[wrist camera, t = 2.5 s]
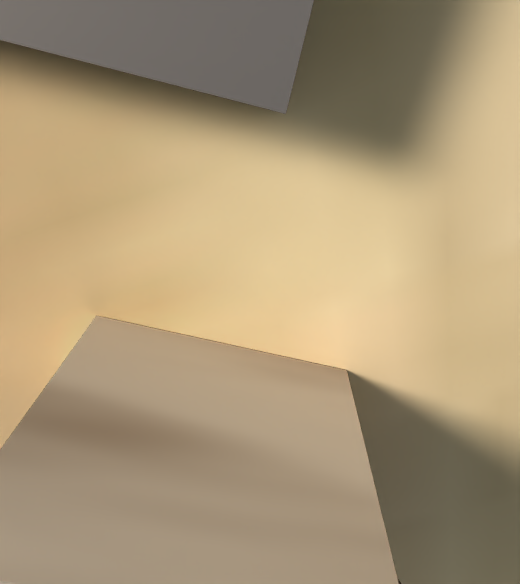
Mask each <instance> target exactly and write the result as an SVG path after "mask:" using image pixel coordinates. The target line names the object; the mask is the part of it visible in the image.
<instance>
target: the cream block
mask: <svg viewBox="0 0 520 584" xmlns="http://www.w3.org/2000/svg"><path fill="white" fill-rule="evenodd" d="M0 584H399V583H398V579H397V575H396V571H395V566H394V562H393V558H392V554H391V550H390V546H389V542H388V538H387V534H386V529H385V525H384V521H383V517H382V513H381V509H380V505H379V501H378V497H377V492H376V488H375V484H374V480H373V476H372V472H371V468H370V464H369V460H368V456H367V451H366V447H365V443H364V439H363V435H362V431H361V427H360V423H359V419H358V414H357V410H356V406H355V402H354V398H353V394H352V390H351V386H350V382H349V378H348V373H347V370H343V369H339V368H334V367H329V366H325V365H320V364H316V363H311V362H307V361H302V360H297V359H293V358H288V357H284V356H279V355H274V354H270V353H265V352H261V351H256V350H252V349H247V348H242V347H238V346H233V345H229V344H224V343H219V342H215V341H210V340H206V339H201V338H196V337H192V336H187V335H183V334H178V333H174V332H169V331H164V330H160V329H155V328H151V327H146V326H141V325H137V324H132V323H128V322H123V321H118V320H114V319H109V318H105V317H100V316H96V317H95V318H94V320H93V321H92V322H91V324H90V325H89V327H88V328H87V329H86V331H85V332H84V334H83V335H82V336H81V338H80V339H79V341H78V342H77V343H76V345H75V346H74V348H73V349H72V350H71V352H70V353H69V354H68V356H67V357H66V359H65V360H64V361H63V363H62V364H61V366H60V367H59V368H58V370H57V371H56V373H55V374H54V375H53V377H52V378H51V380H50V381H49V382H48V384H47V385H46V387H45V388H44V389H43V391H42V392H41V394H40V395H39V396H38V398H37V399H36V400H35V402H34V403H33V405H32V406H31V407H30V409H29V410H28V412H27V413H26V414H25V416H24V417H23V419H22V420H21V421H20V423H19V424H18V426H17V427H16V428H15V430H14V431H13V433H12V434H11V435H10V437H9V438H8V439H7V441H6V442H5V444H4V445H3V446H2V448H1V449H0Z"/></svg>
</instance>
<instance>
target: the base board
mask: <svg viewBox="0 0 520 584" xmlns="http://www.w3.org/2000/svg"><path fill="white" fill-rule="evenodd" d="M313 2H314V0H0V40H2V41H6V42H10V43H14V44H18V45H21V46H25V47H29V48H33V49H37V50H41V51H45V52H48V53H52V54H56V55H60V56H64V57H68V58H72V59H76V60H79V61H83V62H87V63H91V64H95V65H99V66H103V67H106V68H110V69H114V70H118V71H122V72H126V73H130V74H133V75H137V76H141V77H145V78H149V79H153V80H157V81H161V82H164V83H168V84H172V85H176V86H180V87H184V88H188V89H191V90H195V91H199V92H203V93H207V94H211V95H215V96H218V97H222V98H226V99H230V100H234V101H238V102H242V103H246V104H249V105H253V106H257V107H261V108H265V109H269V110H273V111H276V112H280V113H284V114H286V111H287V107H288V103H289V99H290V95H291V91H292V87H293V83H294V79H295V75H296V71H297V67H298V63H299V59H300V55H301V51H302V46H303V42H304V38H305V34H306V30H307V26H308V22H309V18H310V14H311V10H312V6H313Z"/></svg>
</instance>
